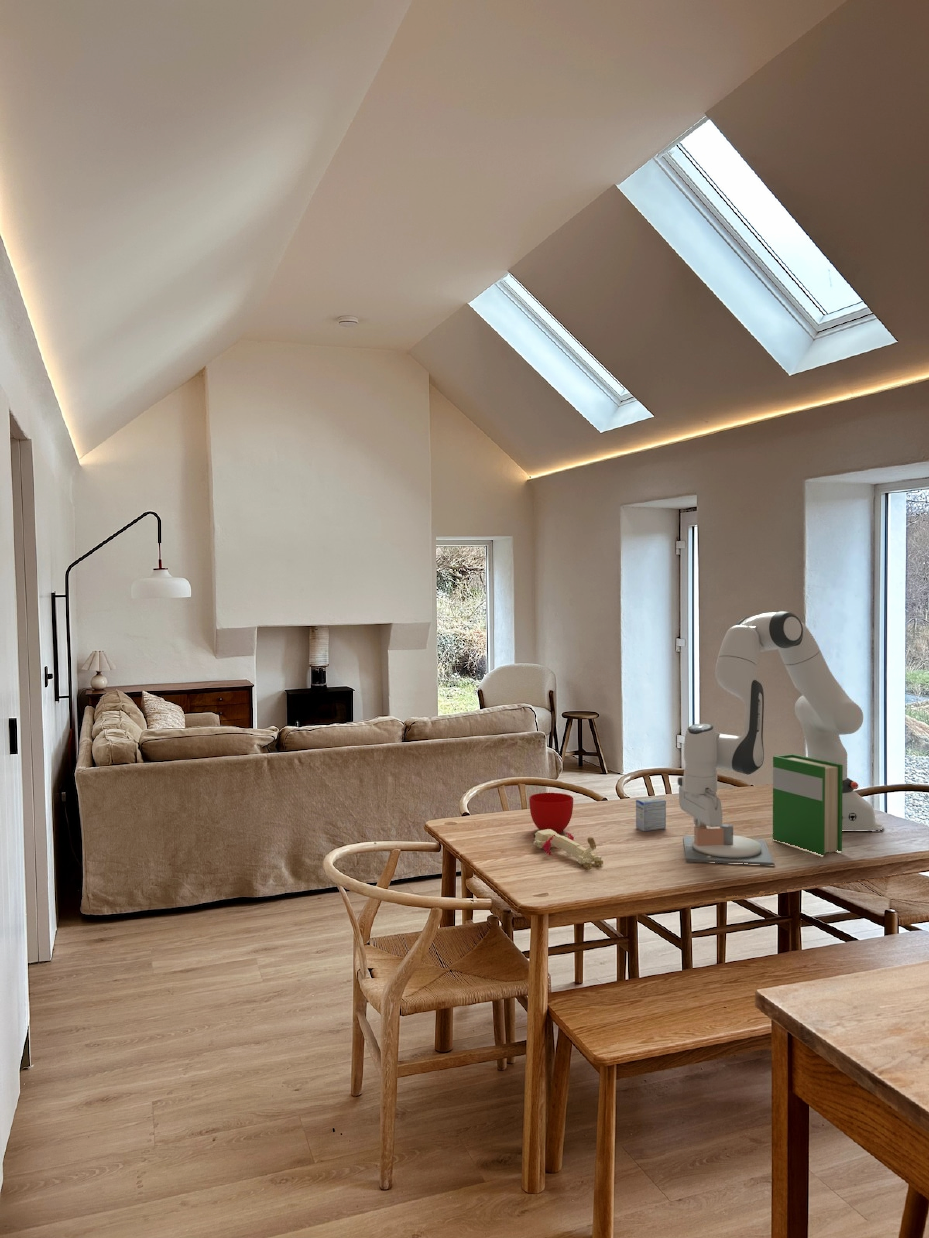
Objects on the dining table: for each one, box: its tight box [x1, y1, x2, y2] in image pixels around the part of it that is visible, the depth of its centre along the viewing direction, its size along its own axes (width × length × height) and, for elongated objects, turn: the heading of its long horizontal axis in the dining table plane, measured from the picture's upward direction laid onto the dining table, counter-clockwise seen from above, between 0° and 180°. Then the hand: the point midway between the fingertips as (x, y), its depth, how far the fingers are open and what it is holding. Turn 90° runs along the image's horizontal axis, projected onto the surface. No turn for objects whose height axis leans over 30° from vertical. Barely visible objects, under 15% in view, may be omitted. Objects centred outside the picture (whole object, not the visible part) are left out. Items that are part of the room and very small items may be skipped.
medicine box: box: [635, 796, 667, 832], centre depth 272 cm, size 8×4×9 cm, turn 113°
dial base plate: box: [682, 835, 775, 866], centre depth 248 cm, size 22×22×1 cm
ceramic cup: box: [528, 792, 574, 835], centre depth 272 cm, size 13×17×10 cm
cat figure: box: [533, 829, 604, 870], centre depth 246 cm, size 10×9×25 cm
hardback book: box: [772, 753, 843, 856], centre depth 252 cm, size 18×7×24 cm, turn 26°
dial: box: [692, 823, 761, 858], centre depth 248 cm, size 18×18×6 cm
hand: (700, 834), depth 250 cm, fingers closed
